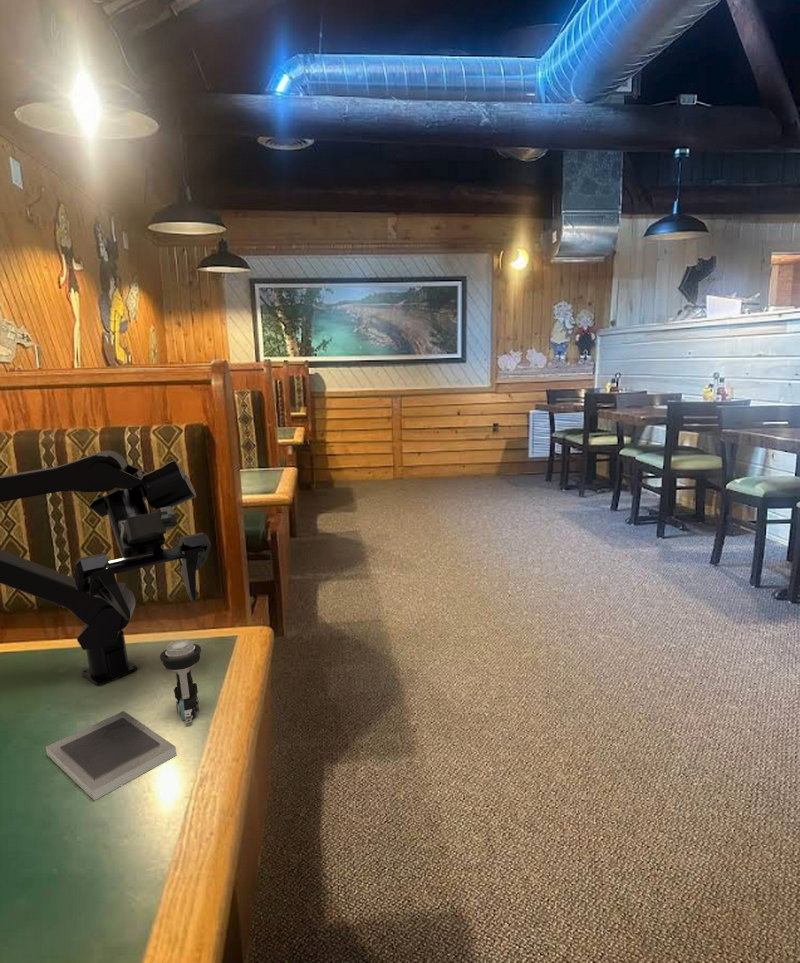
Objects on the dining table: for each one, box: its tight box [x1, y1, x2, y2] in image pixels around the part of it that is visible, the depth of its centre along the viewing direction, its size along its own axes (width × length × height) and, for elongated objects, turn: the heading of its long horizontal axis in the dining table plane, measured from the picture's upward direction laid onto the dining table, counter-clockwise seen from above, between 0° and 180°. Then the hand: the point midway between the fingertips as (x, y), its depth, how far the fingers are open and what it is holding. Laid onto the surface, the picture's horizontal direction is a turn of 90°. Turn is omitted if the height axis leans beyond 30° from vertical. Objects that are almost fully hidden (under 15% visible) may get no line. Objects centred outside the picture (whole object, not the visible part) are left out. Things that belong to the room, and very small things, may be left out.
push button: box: [159, 639, 202, 724], centre depth 83 cm, size 7×5×10 cm
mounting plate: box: [45, 710, 177, 801], centre depth 76 cm, size 14×10×1 cm
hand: (162, 609), depth 87 cm, fingers open, 9 cm apart
